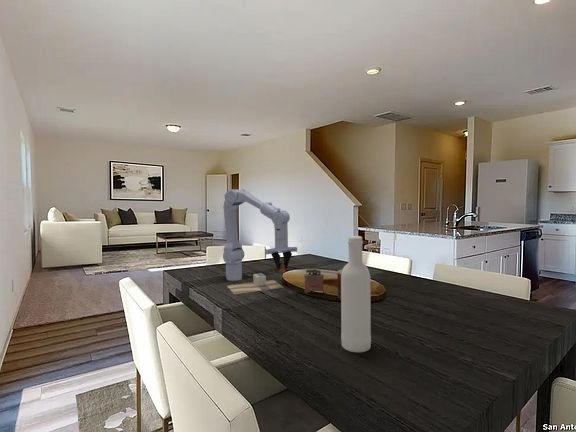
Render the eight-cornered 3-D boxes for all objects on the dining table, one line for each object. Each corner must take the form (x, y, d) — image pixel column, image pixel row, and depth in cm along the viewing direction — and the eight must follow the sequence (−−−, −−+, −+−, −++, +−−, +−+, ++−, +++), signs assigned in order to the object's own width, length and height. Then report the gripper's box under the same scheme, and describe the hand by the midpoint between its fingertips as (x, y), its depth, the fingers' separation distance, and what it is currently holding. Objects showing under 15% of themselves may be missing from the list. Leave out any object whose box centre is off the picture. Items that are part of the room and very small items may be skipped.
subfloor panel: (226, 288, 148) (226, 285, 148) (272, 282, 157) (272, 279, 156) (234, 297, 135) (234, 294, 135) (284, 289, 144) (284, 287, 144)
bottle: (376, 345, 91) (376, 236, 89) (361, 356, 85) (361, 239, 83) (350, 337, 96) (350, 234, 94) (335, 346, 90) (334, 237, 88)
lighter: (323, 291, 141) (323, 268, 140) (323, 293, 137) (323, 270, 136) (304, 291, 141) (304, 268, 141) (304, 293, 138) (304, 269, 137)
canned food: (334, 300, 129) (334, 272, 128) (341, 294, 136) (341, 268, 135) (354, 303, 125) (354, 274, 124) (360, 297, 132) (359, 269, 131)
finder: (253, 282, 151) (253, 273, 151) (261, 281, 153) (261, 272, 152) (257, 286, 146) (257, 276, 145) (266, 285, 147) (265, 275, 147)
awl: (277, 271, 148) (277, 259, 147) (283, 271, 149) (283, 258, 149) (280, 273, 145) (279, 260, 145) (286, 272, 146) (286, 259, 146)
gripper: (268, 240, 139) (269, 272, 140) (300, 238, 145) (300, 269, 146) (263, 238, 146) (264, 269, 147) (293, 236, 152) (293, 265, 153)
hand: (281, 269), depth 147 cm, fingers closed on awl, 3 cm apart
